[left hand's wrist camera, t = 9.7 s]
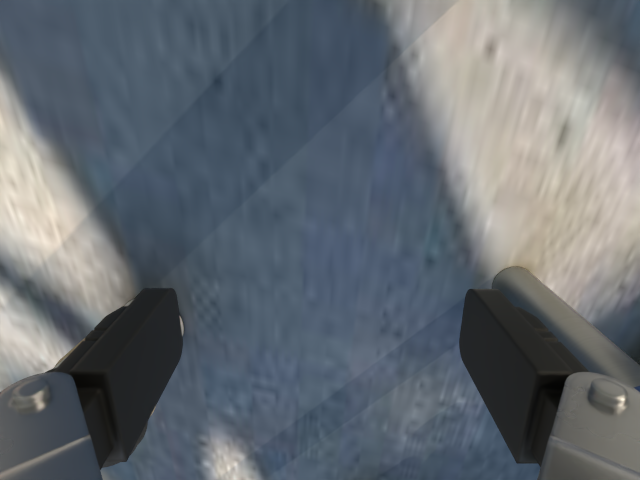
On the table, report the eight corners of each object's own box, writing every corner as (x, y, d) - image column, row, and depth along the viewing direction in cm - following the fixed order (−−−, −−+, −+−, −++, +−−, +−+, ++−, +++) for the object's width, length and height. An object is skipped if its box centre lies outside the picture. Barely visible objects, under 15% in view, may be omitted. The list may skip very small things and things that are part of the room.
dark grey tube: (538, 291, 42) (704, 441, 24) (500, 309, 42) (634, 467, 24) (524, 259, 40) (688, 391, 22) (485, 278, 41) (614, 421, 23)
